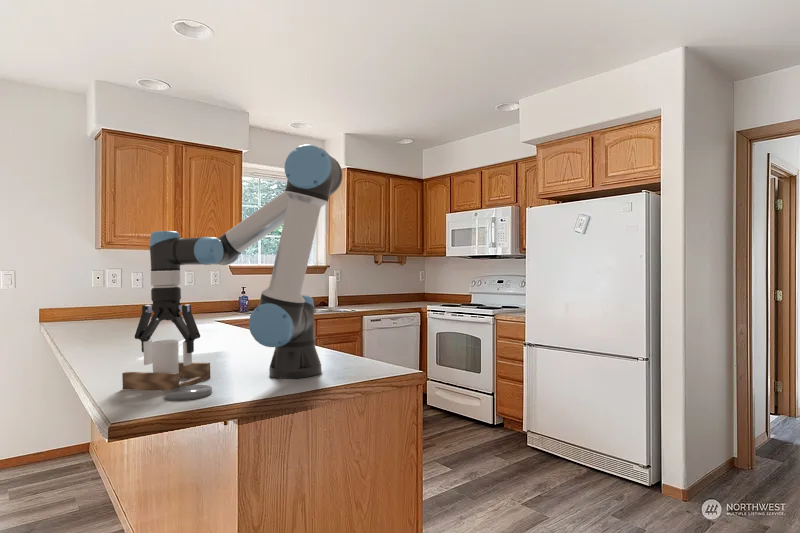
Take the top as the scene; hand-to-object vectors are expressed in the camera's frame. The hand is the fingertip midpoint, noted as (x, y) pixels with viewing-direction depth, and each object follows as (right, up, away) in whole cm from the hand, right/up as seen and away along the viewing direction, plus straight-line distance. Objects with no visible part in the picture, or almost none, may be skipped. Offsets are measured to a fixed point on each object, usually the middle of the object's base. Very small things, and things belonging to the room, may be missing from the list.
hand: (167, 364), depth 142 cm
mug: (0, -5, 0) cm, 5 cm away
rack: (0, -5, 0) cm, 5 cm away
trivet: (+12, -5, -14) cm, 19 cm away
